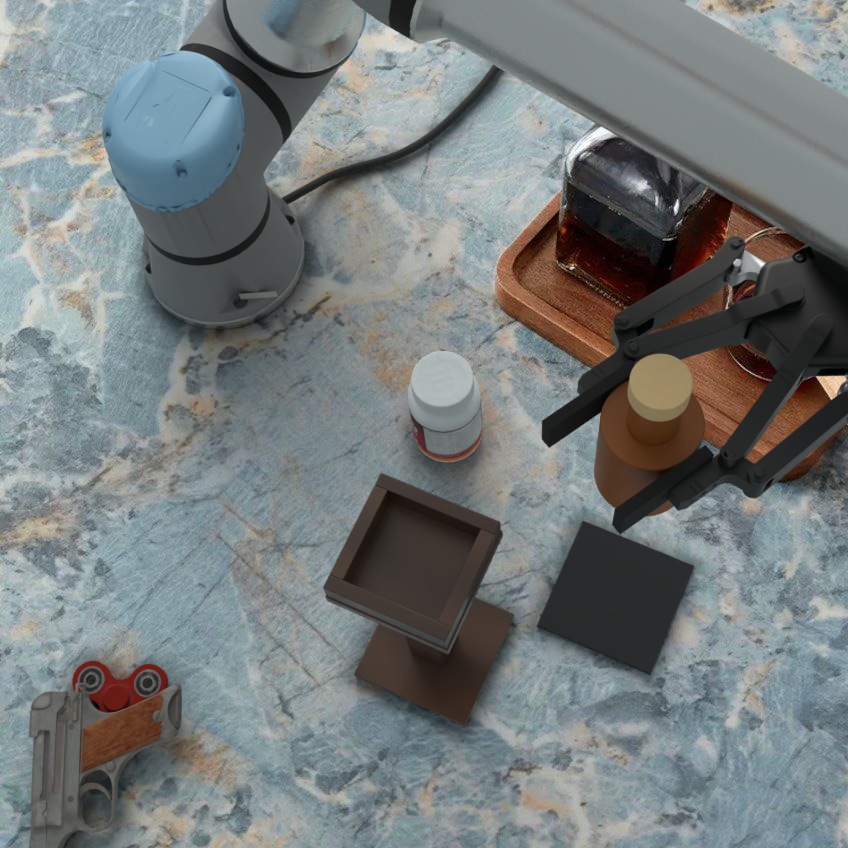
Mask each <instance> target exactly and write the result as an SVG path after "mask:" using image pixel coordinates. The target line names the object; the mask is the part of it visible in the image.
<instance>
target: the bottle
mask: <svg viewBox="0 0 848 848" xmlns="http://www.w3.org/2000/svg"><path fill="white" fill-rule="evenodd" d="M693 388H694V377H693V375H692V372H691V370H690V368H689V366H687V364H686V363H685V362H683V361H682V360H679V359H678V358H676V357H674V356H671V355H667V354H653V355H649V356H647V357H645V358H643V359H641V360H640V361H639V362H638V363H637V364H636V365H635V366H634V367H633V369H632V371H631V374H630V378H629V380H628V381H625V382H624V383H622V384H620V385H619V386H618V387H616V388H615V389H614V390H613V391H612V392H611V393H610V395H609V396H608V397H607V399H606V401H605V402H604V405H603V407H602V410H601V413H600V416H599V424H598V431H597V433H598V434H597V438H596V439H597V440H596V448H595V456H594V463H593V464H594V465H593V477H594V483H595V485H596V488H597V490H598V492H599V494H600V495H601V496H602V498H603V499H604V500H605V502H606V503H608V504H609V505H610V506H611V507H612V508H614V509H615V508H617V507H618V506H620V505H621V504H622V503H624V502H625V501H627V500H628V499H629V498H631V497H632V496H634V495H635V494H636V493H638V492H639V491H641V490H642V489H644V488H645V487H646V486H648V485H649V484H651V483H652V482H653V481H655V480H656V479H658V478H659V477H660V476H662V475H663V474H665V473H666V472H668V471H669V470H670V469H672V468H673V467H675V466H676V465H677V464H679V463H680V462H682V461H683V460H684V459H686V458H687V457H689V456H690V455H692V454H693V453H694V452H696V451H697V450H699V449H700V448H701V447H702V442H703V440H704V436H705V431H706V420H705V419H706V418H705V414H704V410H703V408H702V406H701V403H700V402H699V400H698V399H697V397H696V396H695V394H693ZM673 508H675V507H674V506H673V505H672V503H671V502H670V501H669V500H668V501H667V502H665V503H664V504H662V505H661V506H660V507H658V508H657V509H655V510H654V511H653V512H651V513H650V514H648V515H647V516H646V517H655V516H658V515H661V514H664V513H666V512H668V511H669V510H671V509H673ZM646 517H645V518H646Z"/></svg>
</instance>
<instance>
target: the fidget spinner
mask: <svg viewBox="0 0 848 848" xmlns="http://www.w3.org/2000/svg"><path fill="white" fill-rule="evenodd" d="M91 677H95V682H94V683H93V684H90V683H89V679H90V678H91ZM148 680H151V681H152V685H151V686H150V687H148V688H147V687H146V685H145V683H146V681H148ZM76 683H85V692H89V699H90V701H92V702H93V701H94V702H95V703H96V704H97V706H98V707H99V711H101V712H106V713H111V712H117V711H120V710H123V709H126V708H128V707H130V706H133V705H135V704H137V703H139V702H141V701H143V700H146V699H148V698H150V697H152V696H154V695H156V694H158V693H160V692H161V691H163V690H164V689H166V688H168V687H169V677H168V674H167V673H166V671H165V670H164V669H163V668H162V667H161V666H158V665H156V664H154V663H153V664H152V663H145V664H142V665H139V666H138V667H137V668H135V669H134V670H133V671H132V672H131V674H130V675H129V676H128V677H126V678H123V679H119V678H115V677H114V676H113V674H112V672H111V670H110V668H109V667H108V666H107V665H106V664H104V663H103V662H100V661H98V660H88V661H84V662H83V663H81V664H80V665H79V666H78V667H77V668H76V669H75V671H74V673H73V676H72V681H71V684H72V688H73V692H75V686H76ZM78 692H82V686H78Z"/></svg>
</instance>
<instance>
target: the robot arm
mask: <svg viewBox="0 0 848 848" xmlns="http://www.w3.org/2000/svg"><path fill="white" fill-rule="evenodd" d="M367 14H368V15H370V16H371V17H373V18H374V19H375V20H377V21H378V22H380V23H381V24H383V25H385V26H387V27H388V28H390V29H392V30H393V31H395V32H397V33H399V34H401V35H402V36H403V37H405V38H406V39H409V40H410V41H413V42H415V43H417V44H419V45H421V44H424V43H428V42H431V41H435V40H439V39H447V40H450V41H451V42H453V43H455V44H456V45H458V46H460V47H462V48H463V49H465V50H467V51H469V52H471V53H472V54H474V55H476V56H477V57H479V58H481V59H483V60H484V61H487V62H488V63H490V64H492V66H491V67H490V68H489V70H488V71H487V73H485V75H484V76H483V77H482V78H481V80H480V81H479V82H478V84H477V85H476V86H475V87H474V89H472V91H471V92H470V93H469V94H467V96H465V98H464V99H462V100H463V101H461V102H460V103H459V105H457V106H456V107H455V108H454V109H453V110H452V111H451V112H450V113H449V114H448V115H447V116H445V118H444V119H443V120H442V121H440V122H439V124H437V125H436V126H435V127H434V128H432V129H431V130H430V131H428V132H427V133H426V134H424V135H423V136H421V137H420V138H418V139H416V140H415V141H413V142H411V143H410V144H408V145H407V146H404V147H402V148H400V149H398V150H396V151H393V152H391V153H388V154H385V155H381V156H378V157H374V158H371V159H367V160H363V161H359V162H356V163H355V162H354V163H352V164H349V165H345V166H342V167H339V168H337V169H334V170H331V171H329V172H327V173H325V174H322V175H320V176H318V177H317V178H315V179H313V180H311V181H310V182H308V183H306V184H304V185H302V186H300V187H299V188H297V189H295V190H293V191H292V192H290V193H288V194H286V195H284V196H282V197H281V196H280V195H279V194H278V193H277V192H275V191H274V190H273V189H272V188H271V187H270V186H269V185H267V182H266V179H265V175H264V174H265V171H266V170H267V168H269V167H268V166H269V165H270V164H271V163H272V161H273V160H274V158H275V157H276V155H277V154H278V153H279V152H280V150H281V149H282V147H283V146H284V144H285V143H286V142H287V140H288V139H289V138H290V136H291V135H292V134H293V132H294V131H295V129H296V128H297V126H298V125H299V124H300V122H301V121H302V120H303V118H304V117H305V116H306V115H307V113H308V112H309V110H310V109H311V107H312V106H313V104H314V103H315V102H316V101H317V99H318V98H319V96H320V95H321V93H323V91H324V90H325V88H326V87H327V85H328V84H329V83H330V81H332V78H333V77H334V76H335V74H336V73H337V72H338V70H340V68H341V67H343V65H344V64H345V63H346V62H347V61H348V60H349V59H350V58H351V56H352V55H353V54H354V52H355V51H356V49H357V47H358V44H359V40H360V39H361V37H362V35H363V33H364V30H365V28H366V23H367V16H368V15H367ZM500 70H502V71H504V72H506V73H507V74H509V75H511V76H512V77H514V78H516V79H518V80H519V81H521V82H522V83H524V84H526V85H528V86H530V87H531V88H533V89H535V90H537V91H539V92H540V93H542V94H544V95H546V96H547V97H549V98H551V99H553V100H554V101H556V102H558V103H559V104H561V105H563V106H565V107H566V108H568V109H570V110H572V111H573V112H575V113H576V114H579V115H580V116H582V117H583V118H585V119H587V120H589V121H590V122H593V123H594V124H596V125H598V126H599V127H601V128H603V129H604V130H606V131H608V132H610V133H612V134H613V135H615V136H617V137H619V138H620V139H622V140H624V141H626V142H627V143H629V144H631V145H632V146H634V147H636V148H638V149H640V150H641V151H643V152H645V153H646V154H648V155H650V156H652V157H654V158H655V159H657V160H658V161H660V162H663V163H664V164H666V165H668V166H669V167H671V168H673V169H674V170H677V171H678V172H680V173H681V174H683V175H685V176H687V177H688V178H690V179H691V180H694V181H695V182H697V183H699V184H701V185H702V186H703V187H706V188H707V189H709V190H711V191H713V192H714V193H716V194H717V195H719V196H721V197H723V198H725V199H727V200H728V201H730V202H731V203H733V204H735V205H737V206H739V207H741V208H742V209H744V210H745V211H748V212H749V213H751V214H753V215H755V216H756V217H758V218H760V219H761V220H763V221H765V222H767V223H768V224H770V225H772V226H774V227H775V228H777V229H779V230H781V231H782V232H784V233H786V234H788V235H789V236H791V237H793V238H795V239H796V240H798V241H800V242H802V243H803V244H805V245H803V246H801V248H799V249H798V250H797V251H795V252H794V253H792V254H791V255H789V256H787V257H783V258H778V259H772V260H768V261H765V260H763V259H761V258H759V257H757V256H756V255H755V254H753V253H751V252H750V251H747V250H746V241H745V239H744V238H743V237H741V236H739V235H731V236H729V237H728V238H727V239H726V240H725V242H724V243H723V244H721V246H720V248H718V250H717V251H716V252H715V254H714V255H713V256H712V257H711V258H710V259H708V260H706V261H705V262H703V263H701V264H699V265H698V266H696V267H694V268H692V269H691V270H689V271H688V272H686V273H684V274H683V275H681V276H679V277H678V278H676V279H674V280H672V281H670V282H669V283H667V284H665V285H663V286H661V287H660V288H658V289H656V290H655V291H654V292H651V293H650V294H648V295H647V296H645V297H643V298H642V299H640V300H638V301H636V302H634V303H633V304H631V305H629V306H627V307H626V308H624V309H622V310H621V311H619V312H617V313H616V314H615V315H614V317H613V320H612V327H611V336H610V342H611V343H612V345H613V346H614V348H615V350H616V351H615V352H614V353H612V354H611V355H609V356H607V357H606V358H605V359H603V360H602V361H600V362H599V363H598V364H596V365H595V366H593V367H592V368H590V369H588V370H587V371H585V372H584V373H583V374H582V375H581V376H580V378H579V379H578V380H577V387H576V388H577V389H576V392H577V394H578V396H575V398H572V399H571V400H570V401H569V402H567V403H566V404H563V406H561V407H560V408H558V409H556V410H555V411H554V412H552V413H551V414H549V415H548V416H546V417H545V418H544V419H542V420H541V441H543V443H544V444H545V445H546V446H547V447H548V448H549V449H550V448H552V447H553V446H555V445H556V444H558V442H560V441H562V440H563V439H565V438H566V437H567V436H569V435H570V434H572V433H574V432H575V431H576V430H578V429H579V428H581V427H582V426H583V425H585V424H587V423H588V422H589V421H591V420H592V419H593V418H595V417H597V416H598V415H599V414H601V410H602V407H603V405H604V402H605V401H606V399H607V397H608V396H609V395H610V393H611V392H612V391H613V390H614V389H615V388H616V387H618V386H619V385H620V384H622V383H624V382H625V381H628V380H629V378H630V374H631V371H632V369H633V367H634V366H635V365H636V364H637V363H638V362H639V361H640V360H641V359H643V358H645V357H647V356H649V355H653V354H667V355H671V356H674V357H676V358H678V359H679V360H681V361H682V360H685V359H689V358H691V357H694V356H697V355H700V354H703V353H707V352H710V351H713V350H717V349H720V348H723V347H726V346H729V345H730V346H733V347H735V346H739V345H742V344H746V343H749V342H750V344H752V345H753V347H755V348H756V349H758V350H759V351H761V352H762V353H764V354H765V355H766V357H767V358H768V360H769V362H770V364H771V366H772V367H773V368H774V369H775V370H776V371H777V372H776V373H775V374H774V376H773V377H772V378H771V380H770V381H769V383H768V384H767V385H766V386H765V388H764V389H763V391H762V392H761V393H760V395H759V396H758V398H757V399H756V400H755V402H754V403H753V404H752V406H751V408H749V410H748V411H747V412H746V414H745V415H744V417H743V418H742V419H741V420H740V423H739V424H738V426H737V427H736V428H735V429H734V431H733V432H732V433H731V435H730V436H729V438H728V439H727V441H725V443H724V445H721V447H720V449H719V452H718V453H717V454H716V455H715V454H714V453H713V451H711V449H710V448H709V447H708V446H707V445H706V444H704V445H703V446H700V449H699V450H697V451H696V452H694V453H693V454H692V455H690V456H689V457H687V458H686V459H684V460H683V461H682V462H680V463H679V464H677V465H676V466H675V467H673V468H672V469H670V470H669V471H668V472H666V473H665V474H663V475H662V476H660V477H659V478H658V479H656V480H655V481H653V482H652V483H651V484H649V485H648V486H646V487H645V488H644V489H642V490H641V491H639V492H638V493H636V494H635V495H634V496H632V497H631V498H629V499H628V500H627V501H625V502H624V503H622V504H621V505H620V506H618V507H617V508H614V512H613V515H612V522H611V526H612V527H613V528H614V529H615V530H616V531H617V533H618V535H622V534H624V533H625V532H626V531H628V530H629V529H630V528H632V527H633V526H635V525H636V524H638V523H639V522H640V521H642V520H643V519H644V518H646V516H647V515H648V514H650V513H651V512H653V511H654V510H655V509H657V508H658V507H660V506H661V505H662V504H664V503H665V502H667V501H668V500H669V501H670V502H671V503H672V505H673V506H674V507H673V508H675V510H677V512H678V511H683V510H686V509H688V508H690V507H691V506H693V505H694V504H695V503H696V502H698V501H699V500H701V499H703V497H705V496H706V495H708V494H709V493H710V492H712V491H714V490H715V489H716V488H717V487H719V486H721V485H724V484H725V485H726V484H728V485H732V486H734V487H736V488H738V489H740V490H741V491H742V493H743V494H744V496H746V497H747V498H748V499H757V498H759V497H761V496H763V494H765V493H766V492H767V491H769V490H770V488H772V487H773V486H774V485H775V484H777V483H778V482H779V481H780V480H781V479H783V477H785V476H786V475H787V474H788V473H789V472H791V471H792V470H793V469H795V468H796V467H797V466H798V465H799V464H801V463H802V462H803V461H804V460H805V459H806V458H807V457H809V456H810V455H811V454H812V453H813V452H815V451H816V450H817V449H818V448H819V447H820V446H822V445H823V444H824V443H825V442H827V441H828V440H829V439H830V438H832V436H834V435H835V434H836V433H838V432H839V431H840V430H841V429H842V428H844V426H847V425H848V95H846V94H844V93H842V92H841V91H839V90H837V89H835V88H834V87H832V86H831V85H829V84H827V83H825V82H823V81H822V80H820V79H818V78H816V77H814V76H813V75H811V74H809V73H808V72H805V71H804V70H802V69H800V68H798V67H797V66H795V65H794V64H792V63H790V62H788V61H786V60H785V59H783V58H781V57H779V56H778V55H776V54H774V53H773V52H770V51H769V50H767V49H765V48H764V47H762V46H760V45H759V44H757V43H755V42H753V41H751V40H750V39H748V38H746V37H745V36H742V35H741V34H739V33H738V32H735V31H734V30H732V29H730V28H729V27H727V26H725V25H723V24H721V23H719V22H718V21H716V20H715V19H713V18H711V17H709V16H708V15H706V14H704V13H702V12H701V11H699V10H697V9H695V8H694V7H691V6H690V5H688V4H686V3H685V2H683V1H681V0H216V1H214V3H213V5H212V6H211V8H210V9H209V11H208V12H207V14H205V16H204V17H203V19H202V20H201V21H200V23H198V25H197V26H196V28H195V29H194V30H193V32H192V33H191V34H190V35H189V36H188V38H187V39H186V40H185V41H184V43H183V44H182V46H180V48H179V50H172V51H165V52H161V53H159V57H158V58H157V59H154V60H151V59H149V58H145V59H143V60H141V61H140V62H138V63H136V64H135V65H133V66H132V67H131V68H130V69H129V70H127V72H126V73H125V74H124V75H123V76H122V77H121V78H120V79H119V80H118V81H117V83H116V84H115V86H114V87H113V89H112V90H111V92H110V94H109V96H108V99H107V101H106V104H105V107H104V109H103V114H102V122H101V133H102V134H101V135H102V141H103V145H104V149H105V152H106V155H107V157H108V159H107V161H108V163H109V167H110V169H111V173H112V175H113V178H114V180H115V182H116V184H117V185H118V186H119V188H120V189H121V190H122V192H123V193H124V194H125V196H126V199H127V201H128V202H129V204H130V207H131V209H132V210H133V212H134V214H135V216H136V218H137V221H138V222H139V224H140V226H141V228H142V230H143V238H142V239H143V240H142V249H141V250H142V252H141V260H142V267H143V271H144V276H145V279H146V282H147V284H148V286H149V288H150V290H151V292H152V294H153V296H154V298H155V299H156V300H157V302H158V303H159V304H160V305H161V307H162V308H163V309H164V310H165V311H167V313H169V314H170V315H171V316H173V317H174V318H176V319H178V320H179V321H181V322H183V323H185V324H189V325H191V326H195V327H198V328H203V329H209V330H210V329H211V330H225V329H234V328H238V327H243V326H246V325H249V324H252V323H254V322H256V321H258V320H259V321H260V319H262V318H264V317H266V316H268V315H269V314H271V313H273V311H275V310H276V309H277V308H279V307H280V306H281V305H282V304H283V303H284V302H285V301H286V300H287V299H288V298H289V296H290V295H291V294H292V292H293V291H294V290H295V288H296V287H297V284H298V283H299V280H300V279H301V275H302V273H303V270H304V265H305V259H306V247H305V239H304V235H303V233H302V229H301V225H300V223H299V221H298V219H297V217H296V216H295V213H294V212H293V210H292V209H291V207H290V206H289V204H292V203H294V202H295V201H297V200H299V199H301V198H302V197H304V196H306V195H308V194H310V193H311V192H313V191H315V190H317V189H318V188H320V187H322V186H324V185H325V184H327V183H329V182H331V181H334V180H337V179H339V178H341V177H345V176H347V175H350V174H354V173H358V172H362V171H365V170H369V169H373V168H377V167H380V166H381V167H382V166H384V165H387V164H390V163H393V162H396V161H398V160H401V159H403V158H405V157H407V156H409V155H411V154H412V153H415V152H416V151H418V150H420V149H422V148H423V147H425V146H426V145H428V144H430V142H433V140H435V139H436V138H438V137H439V136H440V135H441V134H443V132H445V131H446V130H447V129H448V128H449V127H450V126H452V125H453V124H454V122H455V121H457V119H459V118H460V117H461V116H462V115H463V114H464V113H465V112H466V110H468V108H469V107H471V105H473V104H474V103H475V102H476V101H477V99H478V98H479V97H480V96H481V95H482V94H483V93H484V91H485V90H486V89H487V87H489V85H490V84H491V83H492V81H493V80H494V79H495V77H496V76H497V74H498V73H499V72H500ZM746 280H747V281H749V280H750V281H753V282H754V287H753V290H752V294H751V297H749V298H746V299H743V300H740V301H739V300H738V301H736V302H734V303H732V304H731V305H730V306H728V308H726V309H721V310H720V311H716V312H713V313H710V314H706V315H704V316H700V317H698V318H694V319H691V320H688V321H684V322H681V323H678V324H675V325H672V326H668V327H665V328H663V329H659V328H661V327H662V326H664V325H665V324H667V323H669V322H671V321H673V320H674V319H676V318H677V317H679V316H681V315H683V314H685V313H686V312H688V311H689V310H691V309H693V308H694V307H696V306H698V305H700V304H701V303H703V302H705V301H707V300H708V299H710V298H711V297H713V296H714V295H716V294H717V293H719V292H720V291H721V290H722V289H724V288H725V287H726V285H728V286H730V287H735V286H737V285H739V284H741V283H743V282H744V281H746ZM658 329H659V330H658ZM655 330H656V331H655ZM807 377H808V378H809V377H812V378H813V377H845V380H844V381H843V382H842V383H841V384H840V386H839V388H838V390H837V392H836V396H834V397H833V398H831V399H830V400H829V401H828V402H827V403H825V404H824V405H823V406H822V407H821V408H820V409H819V410H817V411H816V412H815V413H814V414H812V416H810V417H809V418H808V419H806V420H805V421H804V422H802V423H801V425H799V426H797V428H795V430H793V431H791V433H790V434H788V435H787V436H786V437H785V438H783V439H782V440H781V441H780V442H779V443H777V444H776V445H775V446H774V447H772V448H771V449H770V450H769V451H768V452H767V453H765V454H764V455H763V456H762V457H760V458H759V459H758V460H757V461H756V462H753V461H751V460H749V459H747V458H748V456H749V455H750V454H751V452H752V451H753V450H754V448H755V447H756V445H757V444H758V443H759V441H760V440H761V438H762V437H763V436H764V434H765V433H766V431H768V429H769V427H770V426H771V424H772V423H773V422H774V420H775V419H776V417H777V416H778V414H779V413H780V412H781V410H782V409H783V407H784V406H785V405H786V403H787V402H788V400H790V399H791V397H792V396H793V395H794V394H795V392H796V391H797V389H798V388H799V387H800V385H801V384H802V382H803V381H804V380H805V378H807Z"/></svg>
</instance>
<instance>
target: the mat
mask: <svg viewBox="0 0 848 848" xmlns="http://www.w3.org/2000/svg"><path fill="white" fill-rule="evenodd" d="M694 568H695V565H694V564H692V563H688V562H687V561H684V560H681V559H679V558H677V557H673V556H671V555H669V554H667V553H664V552H662V551H659V550H657V549H654V548H652V547H649V546H647V545H644V544H642V543H639V542H637V541H635V540H632V539H629V538H628V537H625V536H622V535H621V534H617V533H615V532H612V531H610V530H607V529H605V528H603V527H600V526H598V525H596V524H592V523H591V522H588V521H585V520H582V521H581V524H580V525H579V529H578V530H577V532H576V535H575V538H574V540H573V542H572V544H571V547H570V549H569V551H568V553H567V556H566V558H565V561H564V563H563V565H562V568H561V570H560V572H559V574H558V576H557V578H556V581H555V583H554V586H553V588H552V590H551V592H550V595H549V597H548V599H547V601H546V604H545V606H544V608H543V611H542V613H541V615H540V618H539V619H538V622H537V624H536V626H537V627H538V628H540V629H542V630H545V631H547V632H548V633H549V632H550V633H551V634H553V635H556V636H558V637H561V638H563V639H565V640H568V641H570V642H573V643H574V644H577V645H580V646H582V647H585V648H587V649H589V650H592V651H594V652H595V653H599V654H600V655H603V656H605V657H607V658H610V659H612V660H615V661H616V662H619V663H622V664H624V665H626V666H629V667H630V668H633V669H635V670H638V671H640V672H643V673H644V674H647V675H649V676H651V675H652V673H653V671H654V669H655V665H656V663H657V660H658V658H659V656H660V653H661V651H662V648H663V645H664V643H665V640H666V638H667V635H668V633H669V630H670V628H671V626H672V623H673V622H674V621H673V620H674V618H675V616H676V613H677V610H678V608H679V606H680V603H681V600H682V598H683V595H684V593H685V590H686V588H687V585H688V583H689V580H690V578H691V575H692V573H693V570H694Z"/></svg>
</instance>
